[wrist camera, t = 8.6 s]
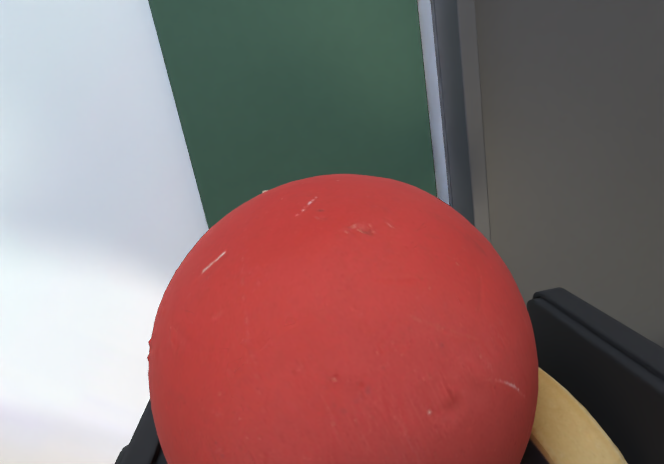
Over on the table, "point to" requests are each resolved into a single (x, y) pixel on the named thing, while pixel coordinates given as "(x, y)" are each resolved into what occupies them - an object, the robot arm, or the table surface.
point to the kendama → (355, 340)
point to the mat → (296, 92)
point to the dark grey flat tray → (561, 144)
